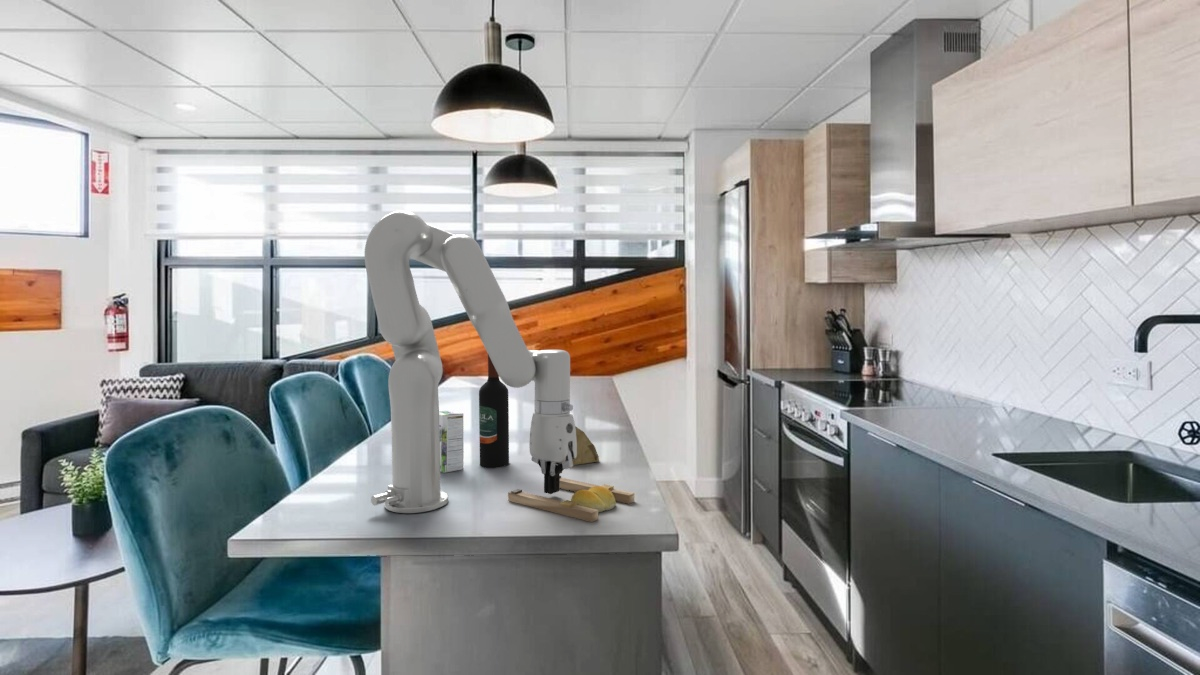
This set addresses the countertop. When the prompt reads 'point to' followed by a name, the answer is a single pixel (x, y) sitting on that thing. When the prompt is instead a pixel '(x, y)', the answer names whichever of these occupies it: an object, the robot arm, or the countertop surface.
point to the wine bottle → (493, 421)
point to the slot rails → (568, 506)
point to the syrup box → (451, 441)
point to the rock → (584, 449)
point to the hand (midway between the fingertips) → (551, 491)
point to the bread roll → (595, 498)
